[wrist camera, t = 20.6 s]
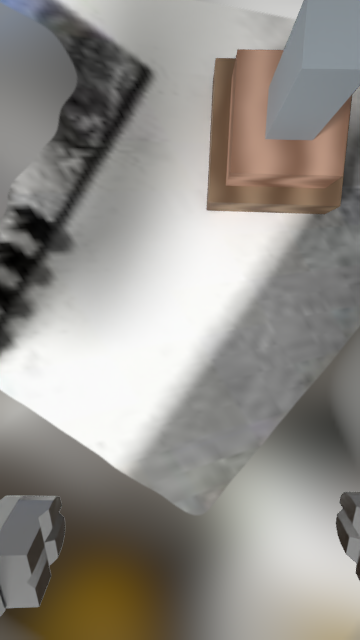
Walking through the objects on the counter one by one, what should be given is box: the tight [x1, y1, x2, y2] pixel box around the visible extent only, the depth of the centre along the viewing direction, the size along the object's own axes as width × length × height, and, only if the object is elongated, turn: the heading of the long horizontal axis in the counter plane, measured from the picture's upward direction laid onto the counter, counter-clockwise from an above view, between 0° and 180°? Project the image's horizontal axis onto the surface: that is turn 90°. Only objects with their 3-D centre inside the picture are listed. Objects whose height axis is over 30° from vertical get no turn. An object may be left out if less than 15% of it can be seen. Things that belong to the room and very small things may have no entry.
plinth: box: [207, 50, 352, 214], centre depth 34 cm, size 16×16×8 cm
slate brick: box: [265, 0, 360, 140], centre depth 25 cm, size 5×5×10 cm
